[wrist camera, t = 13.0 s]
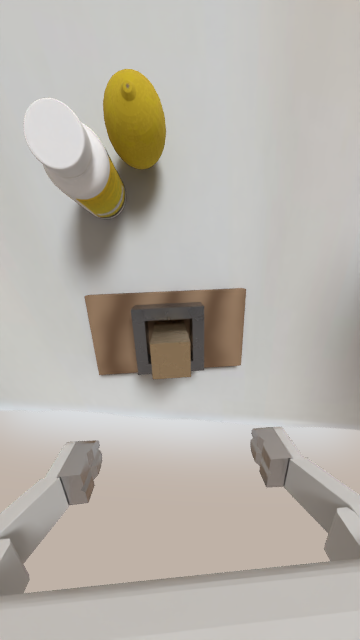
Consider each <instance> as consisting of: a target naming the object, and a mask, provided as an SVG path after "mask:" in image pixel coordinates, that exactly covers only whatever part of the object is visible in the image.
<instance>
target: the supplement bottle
mask: <svg viewBox="0 0 360 640" xmlns="http://www.w3.org/2000/svg"><path fill="white" fill-rule="evenodd" d="M23 128H24V135H25V139H26V142H27V144H28V146H29V148H30V150H31V152H32V153H33V154H34V156H35V157H36V158H37V159H38V160H39V161H40V162H41V163H42V164H43V166H44V169H45V171H46V173H47V175H48V176H49V178H50V179H51V181H52V182H53V183H54V184H55V185H56V186H57V187H58V188H59V189H60V190H61V191H62V192H63V193H65V194H66V195H67V196H69V197H70V198H71V199H73V200H74V201H75V202H77V203H78V204H79V205H81V206H82V207H83V208H85V209H86V210H87V211H88V212H90V213H91V214H93V215H94V216H96V217H98V218H102V219H111V218H114V217H116V216H117V215H119V214H120V213H121V211H122V210H123V208H124V206H125V201H126V192H125V188H124V185H123V182H122V180H121V178H120V176H119V174H118V172H117V170H116V169H115V167H114V165H113V163H112V161H111V159H110V157H109V155H108V153H107V151H106V149H105V147H104V145H103V144H102V142H101V140H100V139H99V138H98V136H97V135H96V134H95V133H94V132H93V131H92V130H91V129H90V128H89V127H88V126H86V125H85V124H83V123H81V122H80V120H79V119H78V117H77V116H76V114H75V113H74V112H73V111H72V110H71V109H70V108H69V107H68V106H67V105H66V104H64V103H63V102H61V101H59V100H56V99H53V98H41V99H38V100H36V101H35V102H33V103H32V104H31V105H30V106H29V108H28V109H27V111H26V114H25V117H24V123H23Z"/></svg>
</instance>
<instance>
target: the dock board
mask: <svg viewBox="0 0 360 640" xmlns="http://www.w3.org/2000/svg"><path fill="white" fill-rule="evenodd" d="M245 297H246V289H244V288H236V289H213V290H191V291H168V292H145V293H122V294H100V295H87V296H85V302H86V307H87V312H88V317H89V323H90V328H91V333H92V339H93V344H94V349H95V355H96V360H97V365H98V371H99V375H106V374H121V373H135V372H138V368H137V360H136V351H135V343H134V334H133V326H132V317H131V309H132V308H133V307H134V306H135V305H145V304H166V303H187V302H201V303H202V304H203V305H204V368H208V367H223V366H237V365H241V355H242V341H243V326H244V311H245ZM172 320H184V323H185V327H186V330H187V333H188V336H189V339H190V319H172ZM155 321H169V320H153V321H148V331H149V342H150V341H151V337H152V333H153V329H154V325H155Z"/></svg>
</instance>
